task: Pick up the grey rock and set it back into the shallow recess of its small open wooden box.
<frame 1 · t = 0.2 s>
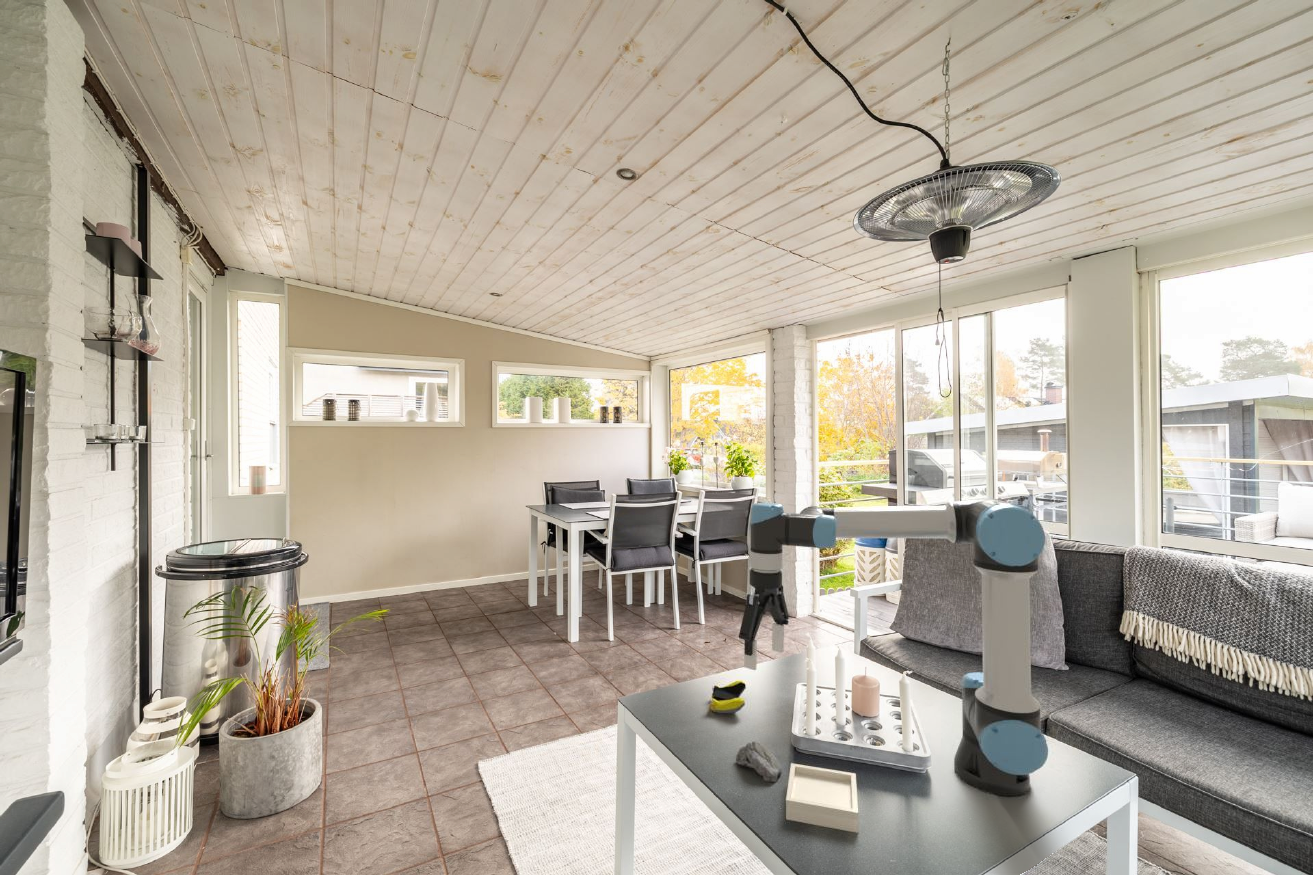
hand: (764, 659, 136), 26 cm above the table, fingers open, 13 cm apart
grey rock: (758, 769, 138), on the table
yellow black shoe: (728, 707, 169), on the table
small open wooden box: (822, 804, 124), on the table
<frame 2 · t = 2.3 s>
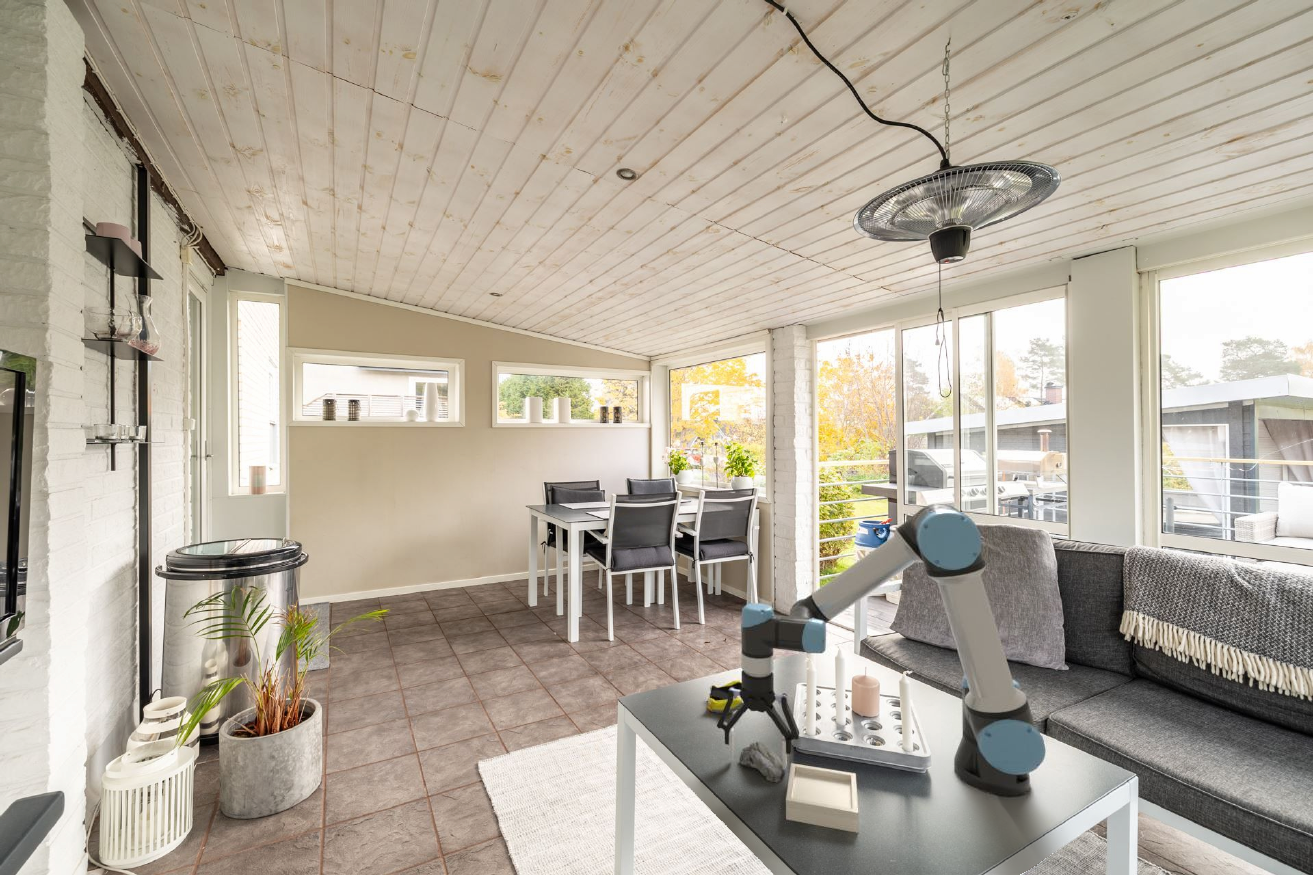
hand: (757, 761, 138), 1 cm above the table, fingers open, 12 cm apart
grey rock: (761, 770, 137), on the table, touching gripper
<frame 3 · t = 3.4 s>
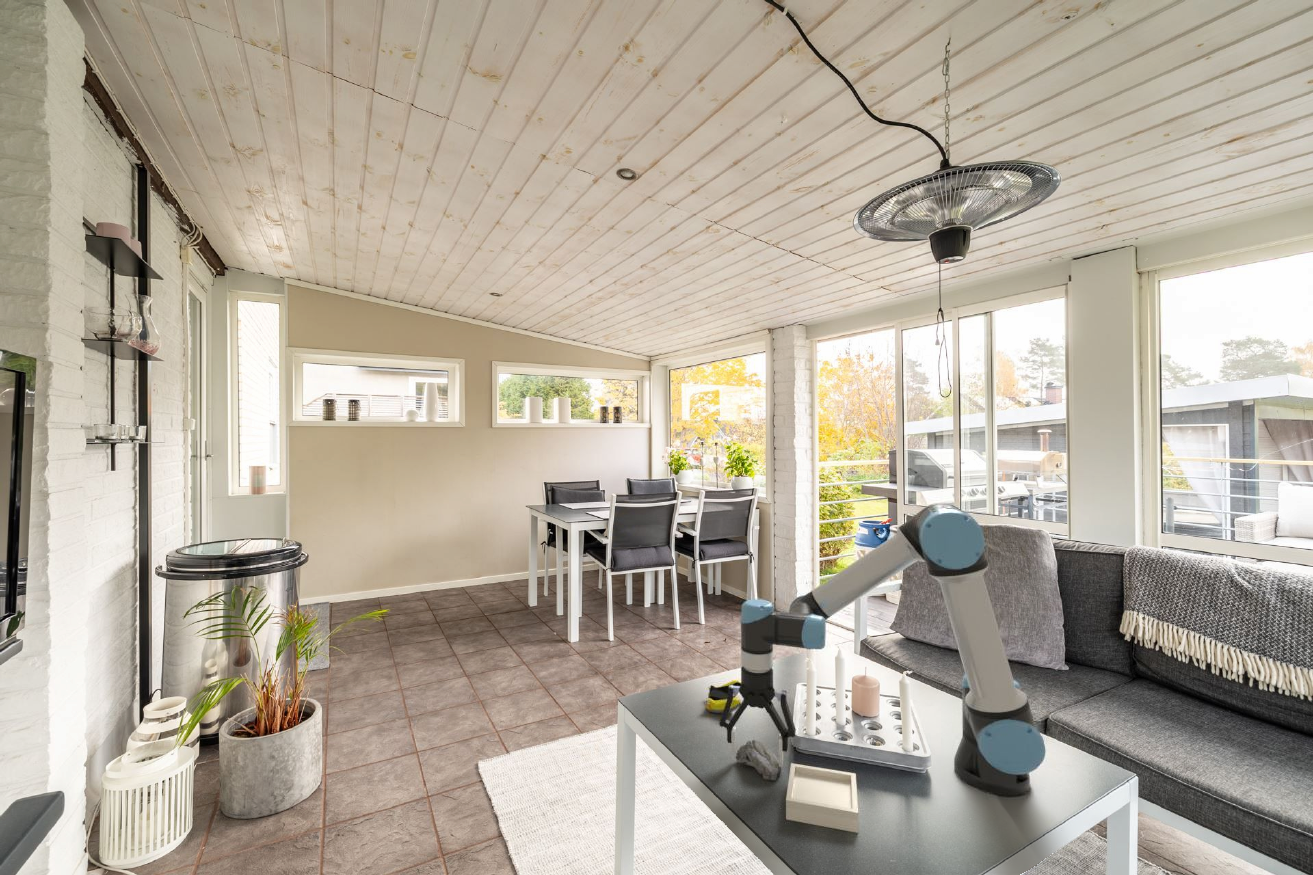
hand: (757, 759, 138), 2 cm above the table, fingers closed on grey rock, 10 cm apart
grey rock: (758, 768, 138), on the table, touching gripper
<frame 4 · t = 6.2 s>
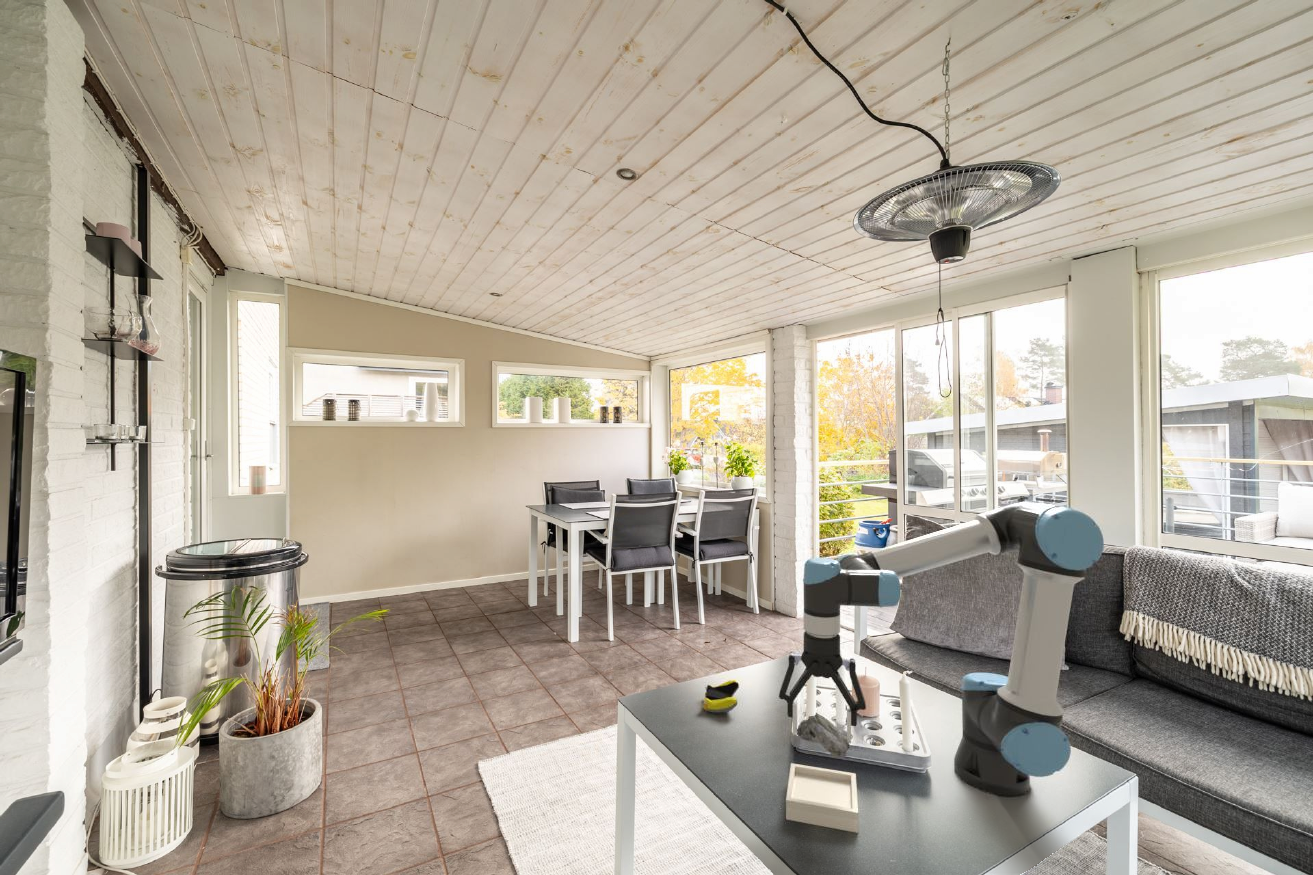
hand: (821, 735, 124), 15 cm above the table, fingers closed on grey rock, 10 cm apart
grey rock: (822, 744, 124), point 13 cm above the table, touching gripper
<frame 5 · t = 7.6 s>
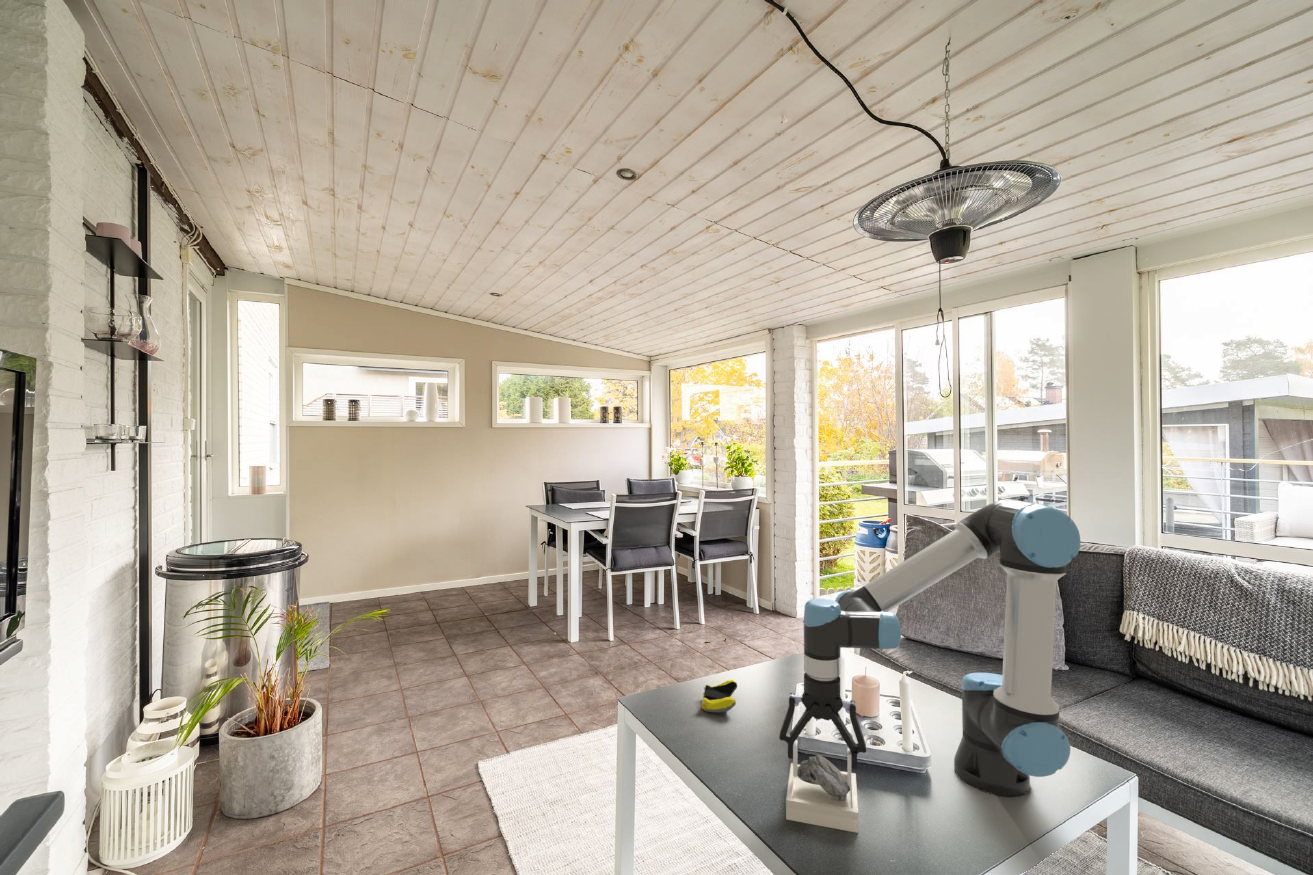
hand: (822, 777, 124), 6 cm above the table, fingers closed on grey rock, 10 cm apart
grey rock: (823, 786, 124), point 4 cm above the table, touching gripper
when the fingers open (5 cm above the table, at t = 8.7 s): grey rock drops 1 cm, resting on small open wooden box.
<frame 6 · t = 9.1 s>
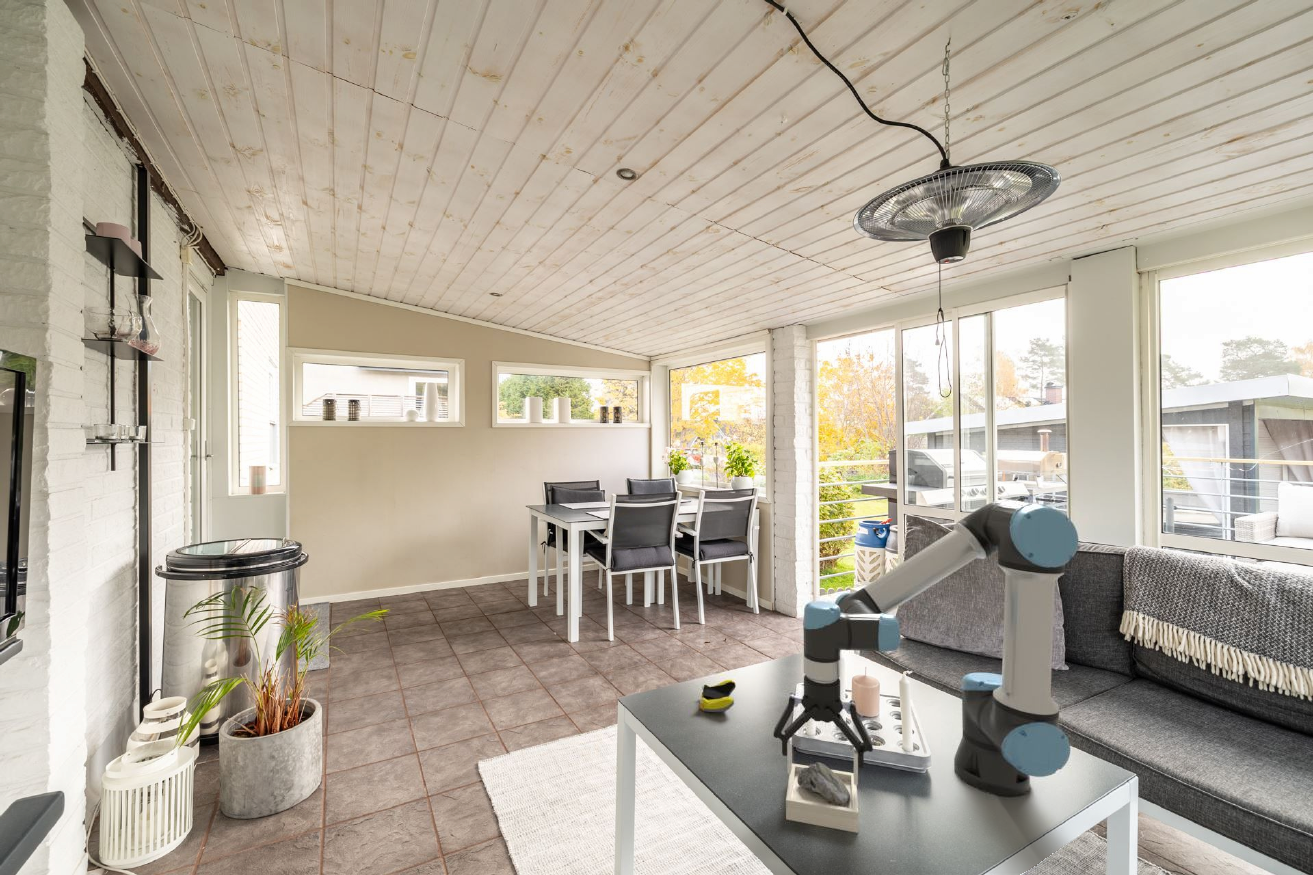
hand: (822, 775, 124), 6 cm above the table, fingers open, 13 cm apart
grey rock: (823, 794, 124), point 2 cm above the table, touching small open wooden box
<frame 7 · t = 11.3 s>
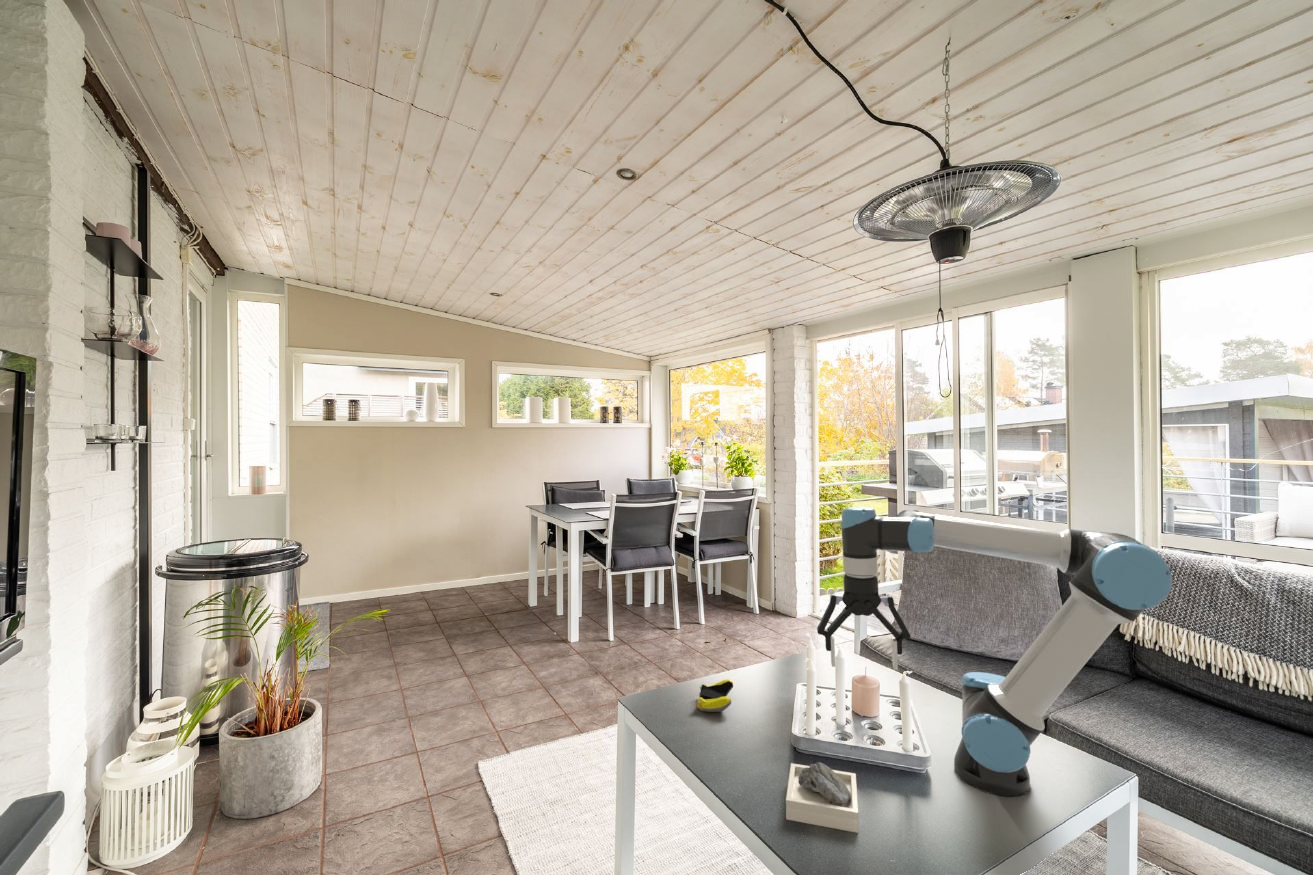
hand: (863, 666, 134), 25 cm above the table, fingers open, 13 cm apart
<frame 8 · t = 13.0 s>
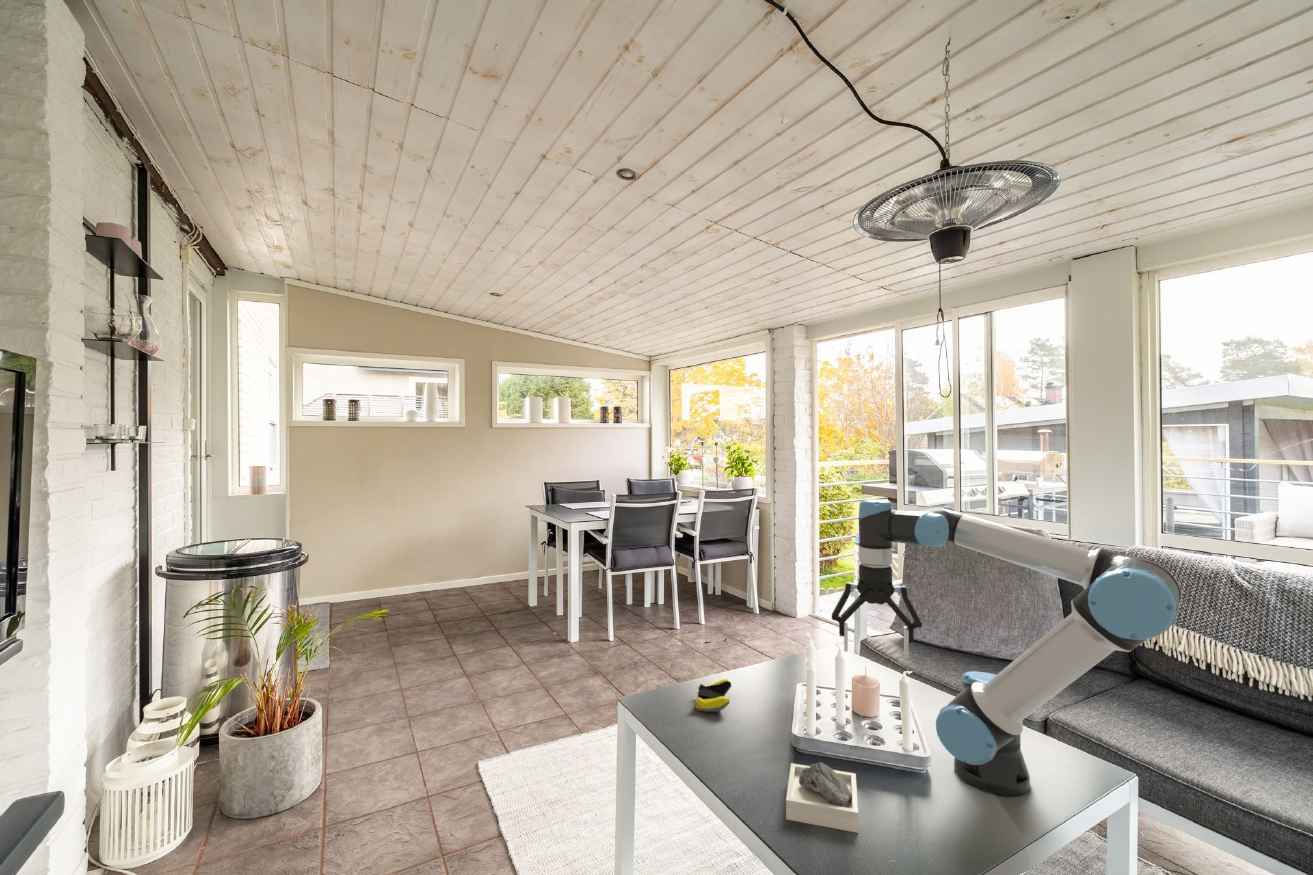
hand: (875, 652, 139), 27 cm above the table, fingers open, 13 cm apart
at the end: grey rock inside the target area on the small open wooden box (0.5 cm from its centre), point 2.3 cm above the small open wooden box's base; the gripper is holding nothing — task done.
